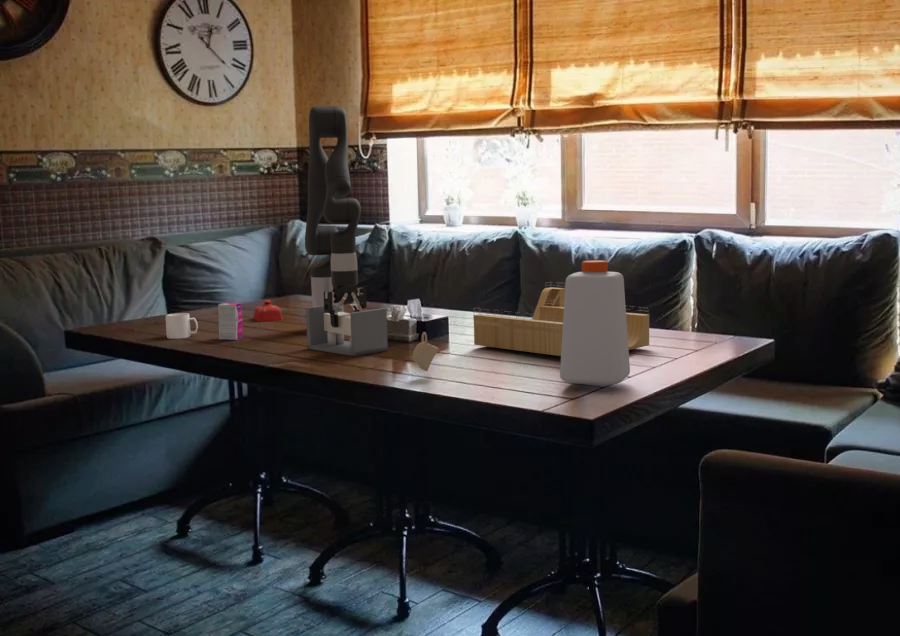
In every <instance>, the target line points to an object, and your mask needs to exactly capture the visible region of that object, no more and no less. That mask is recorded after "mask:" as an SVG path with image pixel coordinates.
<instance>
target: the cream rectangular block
mask: <svg viewBox="0 0 900 636" xmlns="http://www.w3.org/2000/svg"><path fill="white" fill-rule="evenodd" d="M350 313H351V312H345V311H344V312H338V314H337V315H338V324H339V327H337V328H334V327H332V325H331V319H330V314H329V313H324V331H329V332H334V333H339V334H344V336H349V337H350V336H351V317H350Z"/></svg>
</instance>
